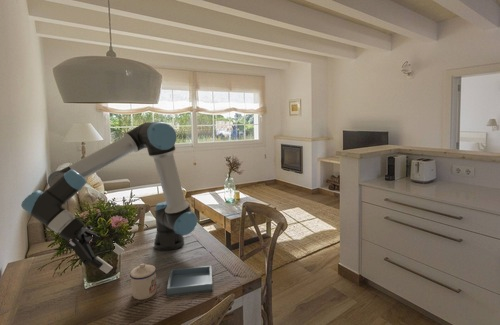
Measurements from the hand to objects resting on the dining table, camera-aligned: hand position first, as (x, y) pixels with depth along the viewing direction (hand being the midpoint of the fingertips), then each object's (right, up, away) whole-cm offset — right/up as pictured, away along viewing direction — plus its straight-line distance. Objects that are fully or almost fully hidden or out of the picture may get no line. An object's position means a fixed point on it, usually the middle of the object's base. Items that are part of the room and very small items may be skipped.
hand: (116, 261), depth 102 cm
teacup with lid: (+9, -13, +4) cm, 16 cm away
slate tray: (+26, -12, +8) cm, 30 cm away
